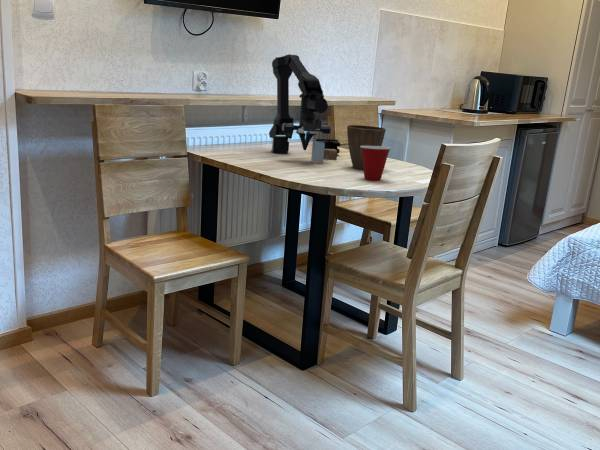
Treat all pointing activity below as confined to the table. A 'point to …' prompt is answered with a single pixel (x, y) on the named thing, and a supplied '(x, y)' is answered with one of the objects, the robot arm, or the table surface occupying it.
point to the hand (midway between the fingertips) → (304, 150)
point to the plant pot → (362, 141)
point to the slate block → (317, 152)
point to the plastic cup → (374, 161)
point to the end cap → (330, 144)
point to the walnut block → (330, 154)
